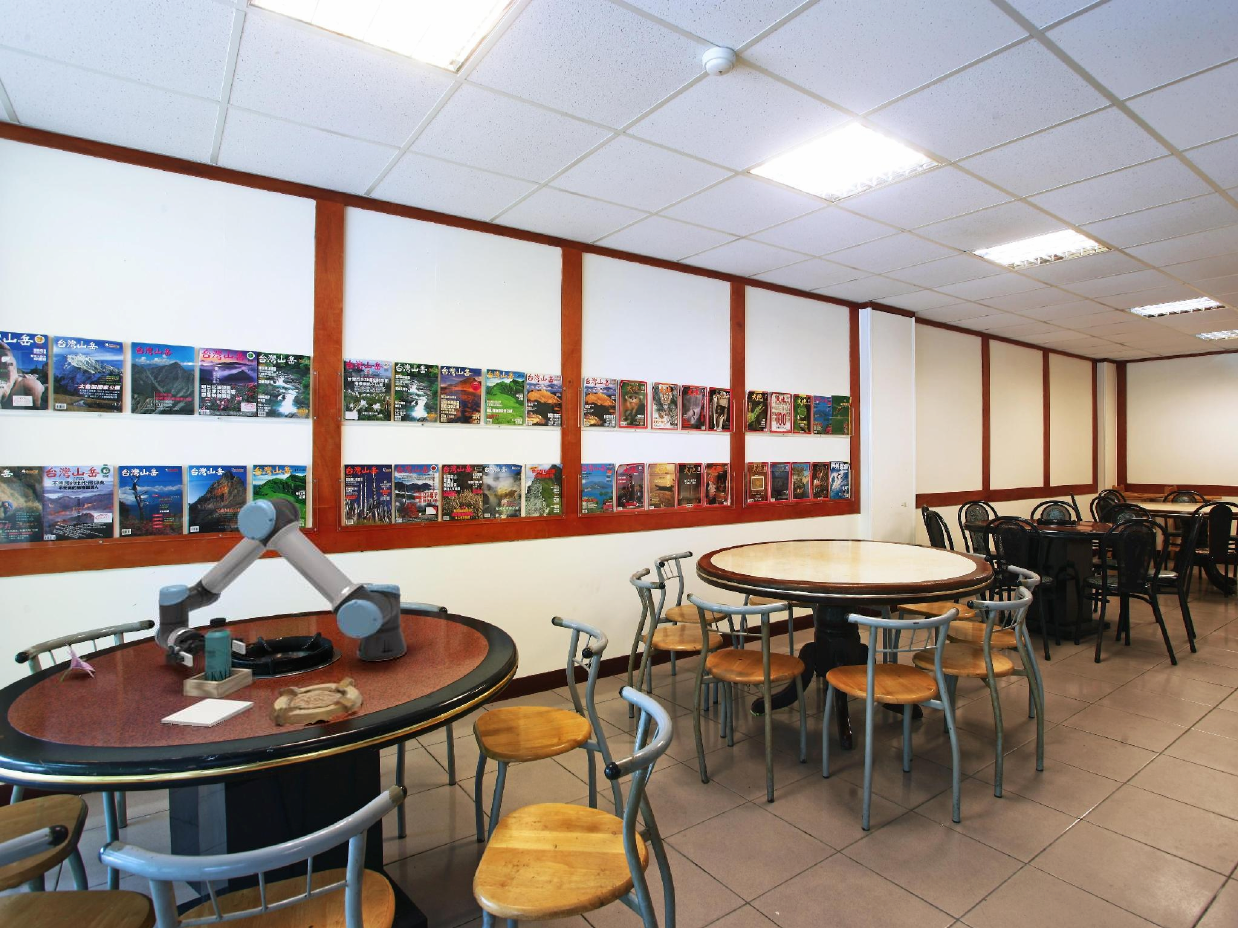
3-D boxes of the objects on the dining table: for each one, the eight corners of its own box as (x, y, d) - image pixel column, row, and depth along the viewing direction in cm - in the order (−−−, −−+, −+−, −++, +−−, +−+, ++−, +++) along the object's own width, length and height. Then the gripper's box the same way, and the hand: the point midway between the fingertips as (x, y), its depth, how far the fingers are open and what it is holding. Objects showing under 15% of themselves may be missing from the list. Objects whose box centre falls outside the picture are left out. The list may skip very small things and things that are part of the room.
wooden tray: (252, 683, 189) (251, 669, 189) (220, 698, 178) (219, 683, 178) (217, 680, 192) (217, 667, 192) (183, 695, 180) (183, 680, 180)
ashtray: (295, 692, 183) (294, 674, 183) (379, 692, 182) (379, 675, 182) (243, 728, 159) (243, 707, 159) (340, 728, 159) (340, 708, 158)
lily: (78, 689, 189) (98, 656, 192) (34, 675, 187) (55, 642, 190) (95, 688, 200) (114, 657, 203) (54, 675, 198) (74, 644, 201)
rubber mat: (253, 706, 172) (253, 702, 172) (210, 728, 158) (210, 723, 158) (207, 702, 175) (207, 698, 175) (161, 723, 161) (161, 719, 161)
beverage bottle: (212, 685, 188) (211, 615, 188) (236, 684, 188) (235, 615, 188) (199, 693, 181) (198, 621, 181) (225, 692, 182) (224, 620, 182)
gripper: (232, 644, 207) (264, 657, 194) (138, 665, 187) (167, 680, 174) (231, 621, 207) (264, 631, 194) (137, 639, 187) (166, 652, 174)
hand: (218, 655), depth 184 cm, fingers open, 13 cm apart
